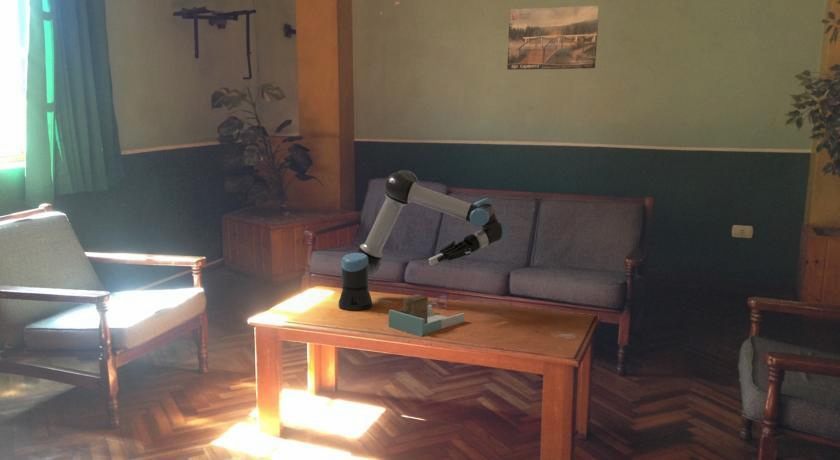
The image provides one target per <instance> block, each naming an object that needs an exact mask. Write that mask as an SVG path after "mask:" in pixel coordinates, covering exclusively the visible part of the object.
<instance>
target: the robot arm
mask: <svg viewBox="0 0 840 460" xmlns="http://www.w3.org/2000/svg"><path fill="white" fill-rule="evenodd" d="M384 188H385V189H384V190H385V192H384V196H385V200H384V202H383V204H382V207H381V208H380V210H379V212H378V215H377V217H376V219H375V221H374V223H373V226H372V227H371V229H370V232H369V233H368V234H367V235H368V236H367V238H366V240H365V242H364V243H362V244H360V245H359V247H358V249H357V251H356V252H351V253H347V254H345V255H344V256H343V257H342V259H341V282H342V284H341V286H342V288H341V294H340V295H339V296H340V297H339V300H338V308H339V309H341V310H345V311H364V310H365V311H366V310H369V309H370V308H373V300H372V296H371V294H370V290H369V277H371V276H373V275H374V274H376V273H377V272H378V271H379V269H380V266H381V261H382V259H383V256H384V254H383V248H384V246H385V244H386V243H387V241H388V239H389V237H390V234H391V232H392V230H393V228H394V226H395V224H396V222H397V219H398V218H399V216H400V213H401V212H402V210H403V209H404V208H403V207H405V206H407V205H409V204H410V203H415V204H418V205H421V206H423V207H426V208H429V209H432V210H435V211H437V212H440V213H444V214H447V215H449V216H452V217H454V218H458V219H461V220H464V221H466V222H469V223H471V224H472V225H473V226H474V227H481V228H482V229H480V230H477V231H475V232H473V233H470V234H469V235H466V236H465V237H464V238H463V240H461V241H458V242H456V240H453V241H452V242H451V243H450V244H448V245H446V246H445V247H443V248H442V249H440V250H439V254H436V255H434V256H431V257H429V258H428V263H429V265H430V266H434V265H436V264H438V263H440V262H442V261H444V260H445V261H446V260H447V261H448V262H449V261H453V260H455V259H458V258H463V257H465V256H469V255H471V253H474V252H476V251H479V250H480V249H483V248H485V247H486V246H489V245H492V244H494V243H496V242H498V241H501V240H502V239H505V238H506V237H507V236H508V232H509V231H508V227H507V225H506V224H505V222H503V221H501V220H500V221H499V220H498V218H497V216H496V213H495V211H494V207H493V204H492V203H491V200H490V199H489V198H488V197H485V198H484V199H481V200H478V201H476V202H474V203H470V202H468V201H464V200H461V199H459V198H456V197H453V196H450V195H447V194H444V193H441V192H439V191H436V190H433V189H431V188H428V187H427V188H426V187H424V186H421V185H419V179H418V178H417V176H416V174H414V172H412V171H410V170H403V169H402V170H399V171H398V172H394V173H391V174H390V175H388V177H387V178H386V180H385V183H384Z"/></svg>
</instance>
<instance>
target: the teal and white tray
mask: <svg viewBox="0 0 840 460" xmlns="http://www.w3.org/2000/svg"><path fill="white" fill-rule="evenodd" d="M433 305H434V304H432V305H428V313H427V324H425V319H423V318H419V317H416V316H412V315H409V314H405V313H402V312H398V311H399V310H398V311H397V310H395V309H389V310H388V328H391V329H395V330H397V331H401V332H404V333H407V334H411V335H414V336H418V337H421V338H425V337H426V334H429V333H433V332H436V331H440V330H442V329H446V328H449V327H452V326H455V325H458V324H462V323H465V313H464V312H462V313H458V314H457V313H456V314H454V315H451V316H445V315H441V314H437V313H434V312H433V309H434V308H433V307H434V306H433Z"/></svg>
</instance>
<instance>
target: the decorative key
mask: <svg viewBox="0 0 840 460" xmlns="http://www.w3.org/2000/svg"><path fill="white" fill-rule="evenodd" d="M442 298H443V299H444V300H445V301H446V303H445V304H444V305H443V306H444V307H445V310H448V309H449V306H448V305H449V301H450V300H449V298H448V297H447V296H445V295H441V296H439V297H438V298H436V299H434V302H432V300H430V301H428V305H435V307H434V308H435V309H441V306H440V304H439V301H440V299H442Z"/></svg>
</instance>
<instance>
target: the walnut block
mask: <svg viewBox="0 0 840 460" xmlns="http://www.w3.org/2000/svg"><path fill="white" fill-rule="evenodd" d="M428 302H429V299H428V296H426V295H421V294H418V293H417V294H412V295H410V296H404V297H402V310H403V313H405V314H409V315H412V316H416V317H419V318H423V319H425V324H427V313H428Z"/></svg>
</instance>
